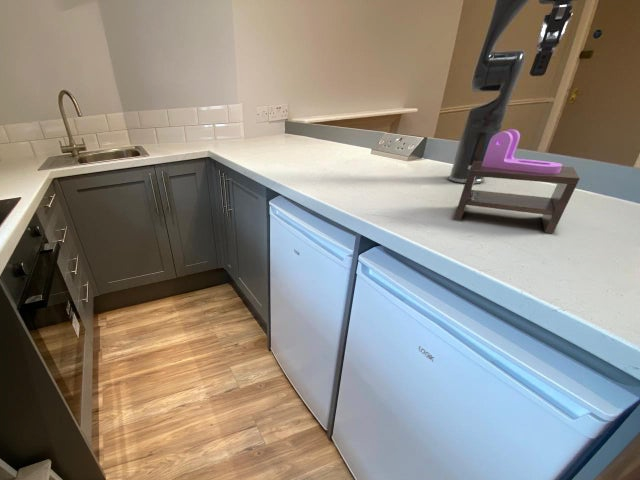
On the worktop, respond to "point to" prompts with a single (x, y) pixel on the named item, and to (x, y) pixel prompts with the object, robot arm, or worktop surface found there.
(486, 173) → the shelf
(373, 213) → the worktop surface
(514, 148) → the bracket
